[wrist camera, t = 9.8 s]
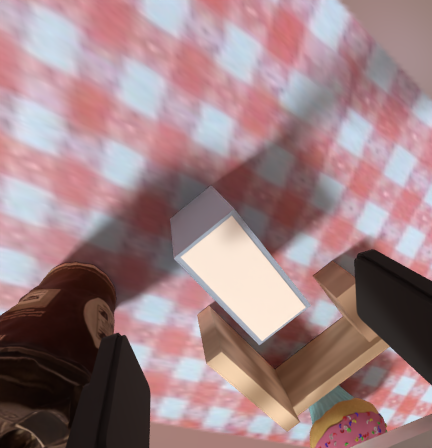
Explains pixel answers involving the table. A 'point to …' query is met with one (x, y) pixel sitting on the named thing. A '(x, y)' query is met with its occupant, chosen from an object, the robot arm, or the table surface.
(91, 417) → the robot arm
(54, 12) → the table surface
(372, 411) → the cupcake
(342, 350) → the rack
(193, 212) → the grey rectangular block
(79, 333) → the coffee cup
